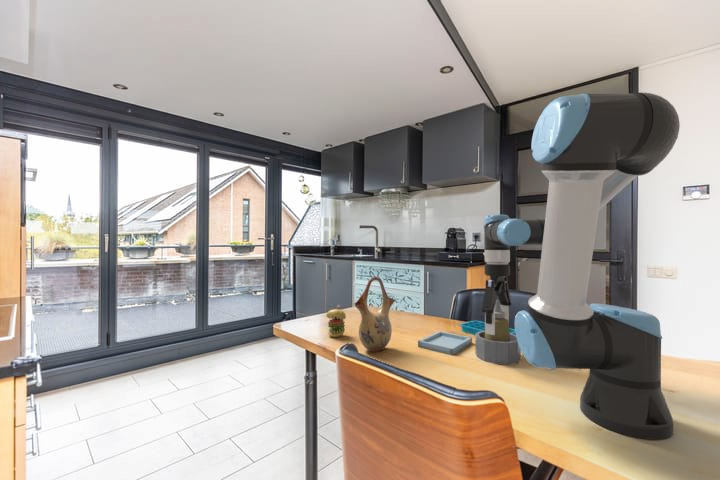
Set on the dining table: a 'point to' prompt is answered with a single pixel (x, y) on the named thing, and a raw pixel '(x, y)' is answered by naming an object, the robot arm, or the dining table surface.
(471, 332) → the ice cube tray
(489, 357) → the grey faceted ring
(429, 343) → the tray
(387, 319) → the ceramic vessel
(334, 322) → the hamburger
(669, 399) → the dining table surface
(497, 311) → the squeeze bottle
